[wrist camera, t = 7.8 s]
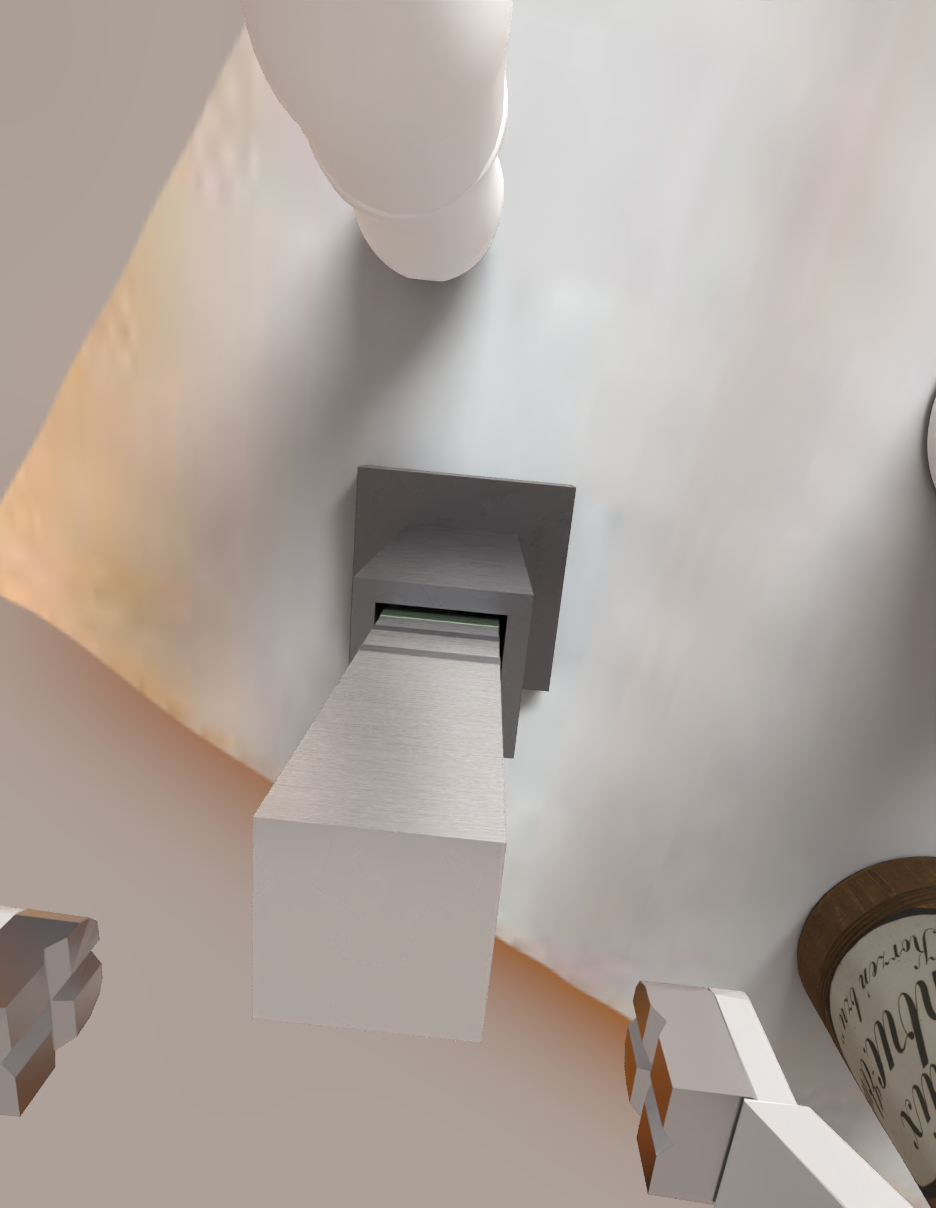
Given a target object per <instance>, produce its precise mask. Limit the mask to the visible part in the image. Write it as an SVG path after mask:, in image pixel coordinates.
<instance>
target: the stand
mask: <svg viewBox="0 0 936 1208" xmlns="http://www.w3.org/2000/svg"><path fill="white" fill-rule="evenodd" d="M575 492H576V487H574V486H572V485H565V484H554V483H544V482H534V481H523V480H513V479H502V478H492V477H482V476H471V475H461V474H451V473H440V472H430V471H419V470H409V469H399V468H388V467H378V466H368V465H364V466H359V467H358V475H357V497H356V519H355V540H354V562H353V584H352V605H351V627H350V649H349V665H350V663H351V662H352V660H353V658H354V657H355V655H356V654H357V652H358V649H359V647H360V646H361V644H363V643H364V641H365V640H366V638H367V636H368V635H369V633H370V632H371V628H372V627H373V625H374V624H376V622H377V621H378V619H379V617H380V614H381V613H382V611H383V610H384V608H385V607H386V606H387V605H388V603H389V604H399V605H409V606H419V607H429V608H439V609H449V610H460V611H470V612H480V613H490V614H498V617H499V638H500V643H499V657H500V662H501V664H500V684H501V710H502V737H503V757H504V758H514V751H515V743H516V735H517V726H518V718H519V710H520V702H521V694H522V689H531V690H541V691H549V684H550V677H551V670H552V662H553V655H554V647H555V640H556V633H557V625H558V618H559V610H560V603H561V596H562V588H563V581H564V573H565V566H566V559H567V551H568V544H569V536H570V529H571V522H572V514H573V507H574V499H575Z"/></svg>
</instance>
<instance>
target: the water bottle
mask: <svg viewBox="0 0 936 1208" xmlns="http://www.w3.org/2000/svg"><path fill="white" fill-rule="evenodd" d="M241 4H242V10H243V14H244V18H245V22H246V26H247V30H248V33H249V36H250V40H251V43H252V46H253V50H254V53H255V55H256V57H257V59H258V62H259V64H260V66H261V69H262V71H263V73H264V75H265V78H266V80H267V81H268V83H269V85H270V87H271V88H272V90H273V92H274V94H275V95H276V97H277V99H278V101H279V102H280V103H281V105H282V106H283V107H284V108H285V110H286V111H287V112H288V113H289V115H290V116H291V117H292V118H293V120H294V121H295V122H296V123H297V124H299V126H300V128H301V129H302V131H303V133H304V134H305V136H306V138H307V139H308V141H309V144H310V147H311V149H312V152H313V154H314V156H315V159H316V160H317V162H318V164H319V166H320V168H321V169H322V171H323V173H324V174H325V176H326V178H327V179H328V181H329V182H330V184H331V185H332V187H333V188H334V189H335V191H336V192H337V193H338V194H339V195H340V196H341V198H342V199H343V200H344V201H346V202H347V203H348V204H349V205H351V206H352V207H353V210H354V214H355V217H356V220H357V223H358V226H359V228H360V230H361V232H362V234H363V236H364V238H365V239H366V241H367V243H368V244H369V246H370V247H371V248H372V250H373V251H374V253H375V254H376V255H377V256H378V257H379V258H380V259H381V260H382V261H383V262H384V263H385V264H386V265H387V266H388V267H390V268H391V269H393V270H394V271H395V272H397V273H398V274H401V275H403V276H405V277H407V278H410V279H421V280H432V281H447V280H450V279H452V278H455V277H458V276H460V275H461V274H463V273H465V272H466V271H468V270H469V269H470V268H472V267H473V266H474V265H475V264H476V263H477V262H478V261H479V260H480V259H481V258H482V257H483V256H484V254H485V253H486V252H487V250H488V248H489V247H490V245H491V243H492V240H493V238H494V236H495V233H496V231H497V228H498V226H499V223H500V220H501V214H502V208H503V196H504V182H503V174H502V169H501V165H500V162H499V160H498V157H497V155H498V153H499V151H500V149H501V146H502V143H503V140H504V136H505V131H506V124H507V112H508V90H507V81H506V74H505V58H506V48H507V44H508V40H509V36H510V27H511V16H512V0H241Z"/></svg>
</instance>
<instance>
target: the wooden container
mask: <svg viewBox="0 0 936 1208" xmlns="http://www.w3.org/2000/svg"><path fill="white" fill-rule="evenodd" d="M797 959H798V970H799V974H800V978H801V981H802V983H803V986H804V988H805V990H806V992H807V994H808V996H809V998H810V1000H811V1001H812V1003H813V1005H814V1007H815V1009H816V1010H817V1012H818V1014H819V1016H820V1018H821V1019H822V1021H823V1023H824V1025H825V1027H826V1028H827V1030H828V1032H829V1034H830V1035H831V1037H832V1039H833V1041H834V1043H835V1045H836V1047H837V1049H838V1051H839V1052H840V1054H841V1056H842V1058H843V1059H844V1061H845V1063H846V1065H847V1066H848V1068H849V1070H850V1072H851V1073H852V1075H853V1077H854V1079H855V1080H856V1082H857V1084H858V1086H859V1087H860V1089H861V1091H862V1092H863V1094H864V1096H865V1098H866V1099H867V1101H868V1103H869V1104H870V1106H871V1108H872V1110H873V1111H874V1113H875V1115H876V1117H877V1118H878V1120H879V1122H880V1123H881V1125H882V1126H883V1128H884V1130H885V1131H886V1133H887V1135H888V1136H889V1138H890V1139H891V1141H892V1143H893V1144H894V1146H895V1148H896V1149H897V1151H898V1153H899V1154H900V1156H901V1158H902V1159H903V1161H904V1163H905V1164H906V1166H907V1168H908V1169H909V1171H910V1173H911V1175H912V1176H913V1178H914V1180H915V1182H916V1183H917V1185H918V1186H919V1188H920V1190H921V1192H922V1193H923V1195H924V1197H925V1198H926V1200H927V1202H928V1204H929V1205H930V1207H931V1208H936V857H907V858H900V859H895V860H890V861H886V862H882V863H879V864H876V865H873V866H871V867H868V868H866V869H864V870H862V871H859V872H858V873H855V874H854V875H852V876H850V877H848V878H847V879H845V880H844V881H842V882H841V883H839V884H838V885H837V886H836V887H834V888H833V889H832V890H831V891H830V892H828V893H827V894H826V896H825V897H824V898H823V899H822V900H821V901H820V902H819V903H818V904H817V906H816V907H815V908H814V909H813V911H812V912H811V914H810V916H809V918H808V919H807V921H806V924H805V926H804V928H803V931H802V934H801V937H800V941H799V945H798V957H797Z"/></svg>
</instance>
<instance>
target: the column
mask: <svg viewBox="0 0 936 1208" xmlns="http://www.w3.org/2000/svg"><path fill="white" fill-rule="evenodd" d="M499 643H500V638H499V617H498V614H490V613H480V612H470V611H460V610H449V609H439V608H429V607H419V606H409V605H399V604H389V603H388V605H387V606H386V607H385V608H384V610H383V611H382V613H381V614H380V617H379V619H378V621H377V622H376V624H374V625H373V627H372V628H371V632H370V633H369V635H368V636H367V638H366V640H365V641H364V643H363V644H361V646H360V647H359V649H358V652H357V654H356V655H355V657H354V658H353V660H352V662H351V663H350V665H349V666H348V668H347V669H346V671H345V673H344V674H343V676H342V677H341V679H340V681H339V682H338V684H337V685H336V687H335V688H334V690H333V692H332V693H331V695H330V696H329V698H328V699H327V701H326V703H325V704H324V706H323V707H322V709H321V711H320V712H319V714H318V715H317V717H316V718H315V720H314V722H313V723H312V725H311V726H310V728H309V729H308V731H307V733H306V734H305V736H304V737H303V739H302V740H301V742H300V744H299V745H298V747H297V748H296V750H295V752H294V753H293V755H292V756H291V758H290V759H289V761H288V763H287V764H286V766H285V767H284V769H283V770H282V772H281V774H280V775H279V777H278V778H277V780H276V781H275V783H274V785H273V786H272V788H271V789H270V791H269V793H268V794H267V796H266V797H265V799H264V800H263V802H262V804H261V805H260V807H259V808H258V810H257V811H256V813H255V815H254V816H253V940H252V942H253V943H252V945H253V946H252V947H253V948H252V958H253V959H252V1019H261V1020H270V1021H280V1022H289V1023H298V1024H308V1025H317V1026H327V1027H336V1028H346V1029H355V1030H364V1031H373V1032H383V1033H392V1034H401V1035H411V1036H420V1037H430V1038H440V1039H448V1040H457V1041H467V1042H476V1043H482V1035H483V1027H484V1019H485V1011H486V1003H487V995H488V987H489V979H490V970H491V963H492V955H493V947H494V939H495V931H496V923H497V915H498V907H499V899H500V891H501V883H502V875H503V867H504V859H505V851H506V817H505V791H504V764H503V737H502V710H501V684H500V664H501V662H500V657H499Z"/></svg>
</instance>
